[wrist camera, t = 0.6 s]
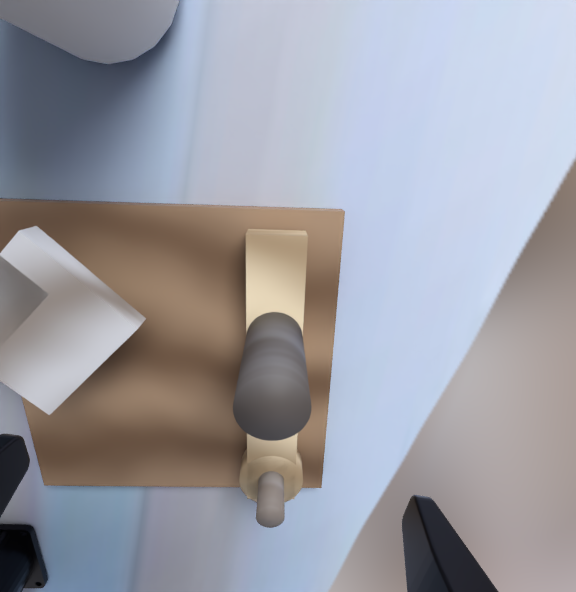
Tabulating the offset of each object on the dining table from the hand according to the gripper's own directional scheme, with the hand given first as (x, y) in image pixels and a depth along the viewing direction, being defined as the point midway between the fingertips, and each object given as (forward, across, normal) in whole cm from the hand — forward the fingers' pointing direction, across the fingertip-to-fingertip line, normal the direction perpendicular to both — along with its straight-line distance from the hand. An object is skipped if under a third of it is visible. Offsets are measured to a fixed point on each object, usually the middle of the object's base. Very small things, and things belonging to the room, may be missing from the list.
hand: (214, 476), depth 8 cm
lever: (+12, -1, +7) cm, 14 cm away
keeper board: (+13, +6, +7) cm, 16 cm away
